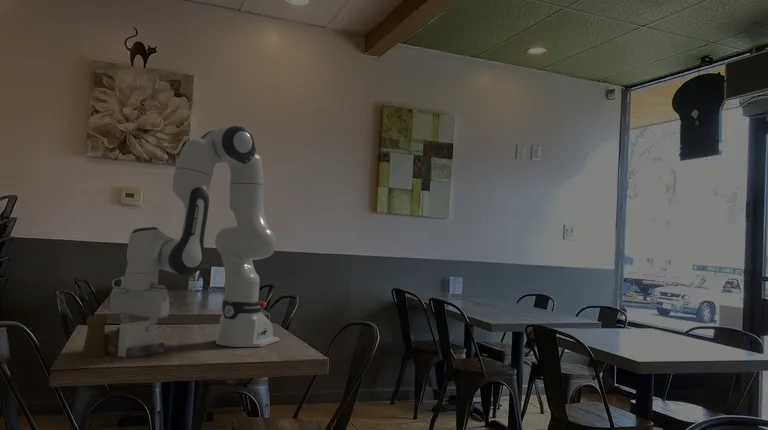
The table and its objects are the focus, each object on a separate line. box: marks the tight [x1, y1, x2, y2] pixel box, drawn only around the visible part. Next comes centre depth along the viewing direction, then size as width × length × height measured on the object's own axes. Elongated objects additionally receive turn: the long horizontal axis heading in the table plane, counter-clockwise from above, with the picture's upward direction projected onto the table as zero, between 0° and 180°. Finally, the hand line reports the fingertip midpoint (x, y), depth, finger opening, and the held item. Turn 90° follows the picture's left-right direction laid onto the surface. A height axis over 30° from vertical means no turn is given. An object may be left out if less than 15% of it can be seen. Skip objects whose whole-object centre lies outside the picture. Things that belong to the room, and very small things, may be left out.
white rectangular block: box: [117, 319, 157, 358], centre depth 166 cm, size 10×4×9 cm, turn 154°
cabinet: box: [105, 326, 165, 359], centre depth 168 cm, size 12×15×8 cm
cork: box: [81, 314, 108, 358], centre depth 161 cm, size 6×6×11 cm
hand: (137, 330), depth 166 cm, fingers open, 8 cm apart
